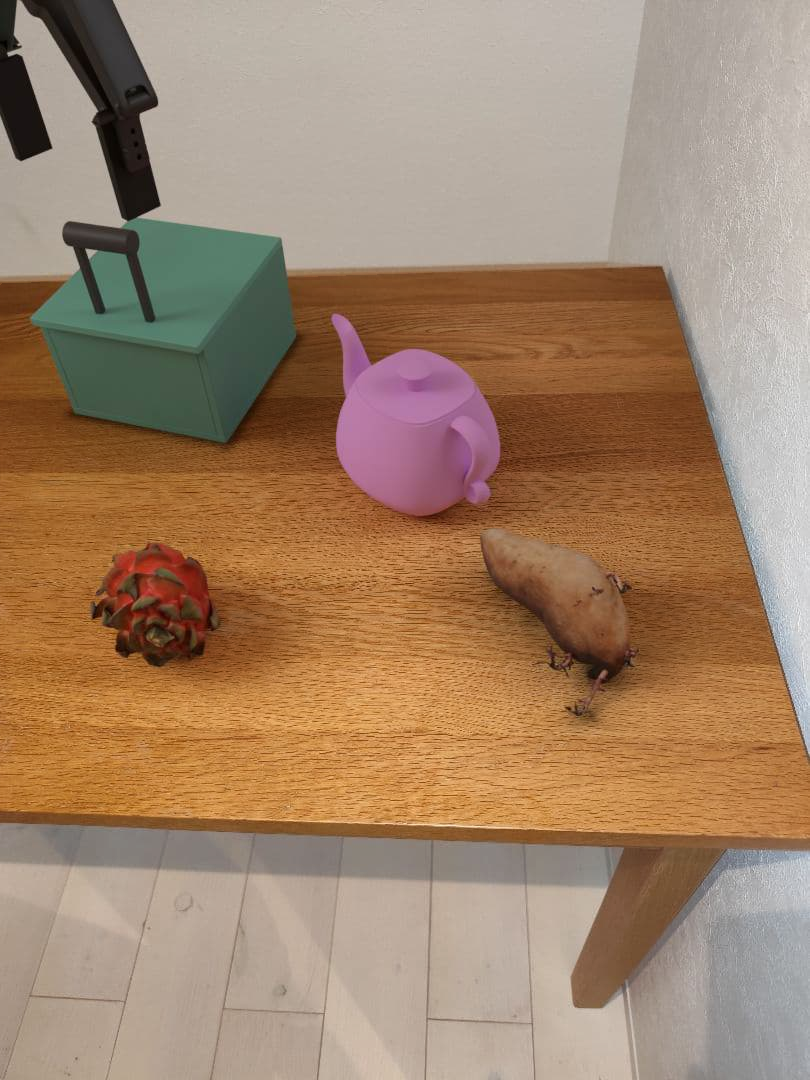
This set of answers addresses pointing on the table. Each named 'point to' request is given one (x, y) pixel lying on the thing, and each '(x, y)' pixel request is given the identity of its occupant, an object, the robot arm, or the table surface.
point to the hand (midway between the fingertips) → (85, 181)
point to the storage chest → (183, 367)
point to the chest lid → (155, 282)
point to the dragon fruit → (157, 604)
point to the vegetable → (565, 602)
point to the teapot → (413, 429)
